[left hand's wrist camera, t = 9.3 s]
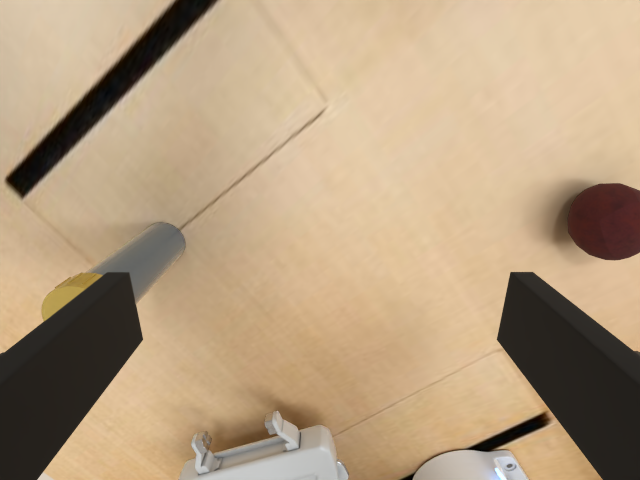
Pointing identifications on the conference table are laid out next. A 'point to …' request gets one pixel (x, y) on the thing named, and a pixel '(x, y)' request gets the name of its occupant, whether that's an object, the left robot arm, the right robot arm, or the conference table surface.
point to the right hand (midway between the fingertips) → (233, 426)
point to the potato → (606, 221)
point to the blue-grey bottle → (145, 257)
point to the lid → (67, 292)
